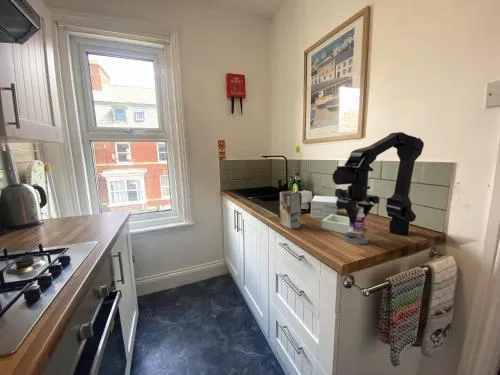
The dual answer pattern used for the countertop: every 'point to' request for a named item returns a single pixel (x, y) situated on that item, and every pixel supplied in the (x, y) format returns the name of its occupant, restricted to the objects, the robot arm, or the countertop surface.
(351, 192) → the robot arm
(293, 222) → the coffee box
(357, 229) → the pill bottle
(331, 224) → the bin
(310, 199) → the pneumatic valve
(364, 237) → the collar
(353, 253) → the countertop surface
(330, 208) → the supplement box
